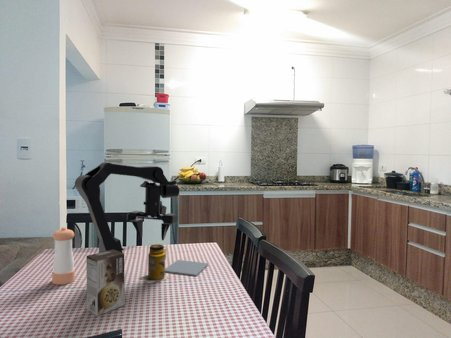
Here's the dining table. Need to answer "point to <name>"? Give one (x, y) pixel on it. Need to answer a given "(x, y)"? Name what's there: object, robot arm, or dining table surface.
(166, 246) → the beech cube
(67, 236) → the pepper shaker
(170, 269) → the plate
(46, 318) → the dining table surface
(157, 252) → the condiment
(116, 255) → the cookie box
